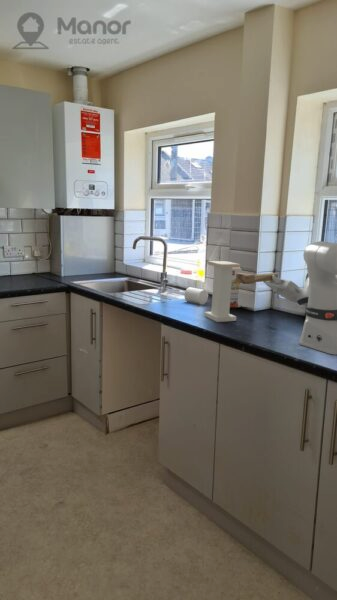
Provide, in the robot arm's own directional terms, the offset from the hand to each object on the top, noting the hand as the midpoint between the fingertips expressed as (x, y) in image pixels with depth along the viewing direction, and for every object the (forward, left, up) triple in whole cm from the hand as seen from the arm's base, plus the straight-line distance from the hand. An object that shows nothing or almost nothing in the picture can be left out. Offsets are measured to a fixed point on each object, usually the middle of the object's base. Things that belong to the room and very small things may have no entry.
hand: (269, 276), depth 217 cm
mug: (+36, +18, -20) cm, 45 cm away
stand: (0, +26, -19) cm, 33 cm away
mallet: (0, +6, -2) cm, 7 cm away
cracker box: (+22, +5, -20) cm, 30 cm away
